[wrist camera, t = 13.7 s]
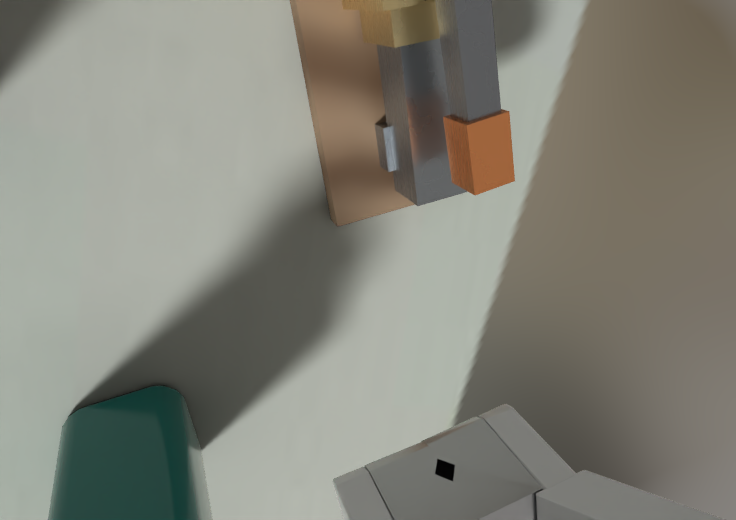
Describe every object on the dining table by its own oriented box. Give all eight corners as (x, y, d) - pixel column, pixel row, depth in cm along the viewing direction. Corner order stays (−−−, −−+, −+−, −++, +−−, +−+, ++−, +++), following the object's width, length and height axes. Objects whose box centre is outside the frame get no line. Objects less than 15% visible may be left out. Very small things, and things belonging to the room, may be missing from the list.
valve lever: (405, -99, 27) (436, -111, 24) (456, -110, 28) (492, -122, 25) (445, 180, 34) (473, 195, 31) (485, 166, 35) (516, 180, 32)
